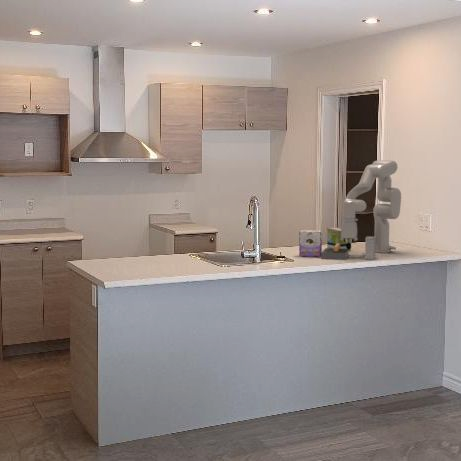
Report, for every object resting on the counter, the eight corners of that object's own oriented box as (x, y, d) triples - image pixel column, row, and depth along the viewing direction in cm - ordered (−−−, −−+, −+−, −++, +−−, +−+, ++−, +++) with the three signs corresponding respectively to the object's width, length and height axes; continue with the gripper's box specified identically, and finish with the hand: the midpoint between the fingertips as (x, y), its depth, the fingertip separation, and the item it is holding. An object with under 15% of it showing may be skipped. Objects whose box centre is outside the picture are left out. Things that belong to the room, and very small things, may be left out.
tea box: (326, 249, 494) (326, 227, 492) (338, 248, 498) (339, 227, 496) (338, 252, 480) (339, 230, 478) (351, 251, 484) (351, 229, 483)
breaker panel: (348, 255, 468) (348, 248, 467) (345, 259, 448) (345, 252, 448) (325, 254, 471) (325, 247, 471) (321, 258, 452) (321, 252, 452)
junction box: (374, 256, 460) (375, 236, 458) (373, 259, 448) (374, 239, 446) (366, 256, 461) (366, 236, 460) (364, 259, 449) (365, 238, 448)
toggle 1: (339, 249, 460) (339, 244, 460) (338, 250, 457) (338, 245, 457) (335, 249, 461) (335, 244, 461) (334, 250, 458) (334, 245, 458)
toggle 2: (338, 250, 455) (338, 245, 455) (337, 251, 452) (337, 246, 452) (334, 250, 456) (334, 245, 455) (333, 251, 453) (333, 246, 452)
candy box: (322, 256, 464) (322, 230, 462) (320, 257, 458) (321, 231, 456) (300, 255, 468) (300, 229, 466) (299, 256, 462) (299, 230, 460)
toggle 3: (340, 248, 466) (340, 243, 465) (339, 249, 463) (339, 244, 462) (336, 248, 466) (336, 243, 466) (335, 248, 463) (335, 244, 463)
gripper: (361, 220, 457) (361, 249, 459) (337, 219, 461) (337, 248, 463) (360, 221, 450) (360, 250, 452) (336, 220, 453) (336, 249, 455)
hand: (348, 249), depth 457 cm, fingers closed
